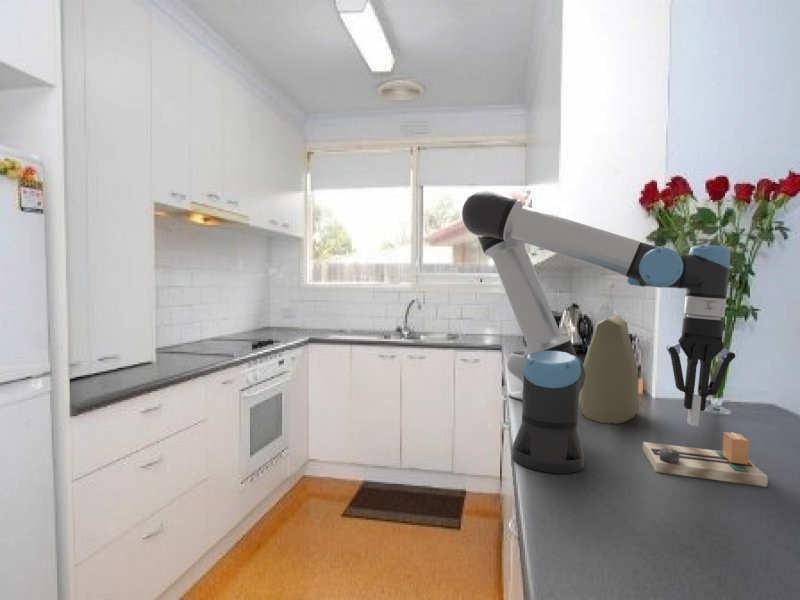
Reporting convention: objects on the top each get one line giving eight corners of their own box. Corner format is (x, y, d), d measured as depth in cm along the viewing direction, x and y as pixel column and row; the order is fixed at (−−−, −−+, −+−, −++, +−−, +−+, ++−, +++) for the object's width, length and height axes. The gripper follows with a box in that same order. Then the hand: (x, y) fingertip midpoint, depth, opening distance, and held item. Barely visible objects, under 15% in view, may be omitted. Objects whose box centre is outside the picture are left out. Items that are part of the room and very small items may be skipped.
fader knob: (730, 462, 101) (732, 438, 101) (722, 454, 106) (723, 431, 106) (747, 464, 101) (749, 439, 100) (738, 456, 105) (739, 432, 105)
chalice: (548, 395, 169) (550, 352, 168) (547, 404, 156) (550, 358, 155) (507, 391, 173) (509, 349, 173) (504, 399, 160) (506, 354, 159)
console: (655, 471, 101) (657, 452, 101) (642, 450, 115) (643, 432, 115) (767, 486, 96) (768, 466, 96) (739, 461, 109) (740, 443, 109)
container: (585, 401, 161) (590, 312, 160) (641, 410, 153) (647, 316, 151) (570, 417, 141) (575, 315, 140) (633, 428, 132) (639, 320, 131)
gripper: (674, 315, 103) (663, 424, 104) (745, 321, 99) (733, 434, 100) (665, 313, 110) (655, 415, 111) (731, 318, 106) (720, 423, 107)
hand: (692, 424), depth 106 cm, fingers closed
